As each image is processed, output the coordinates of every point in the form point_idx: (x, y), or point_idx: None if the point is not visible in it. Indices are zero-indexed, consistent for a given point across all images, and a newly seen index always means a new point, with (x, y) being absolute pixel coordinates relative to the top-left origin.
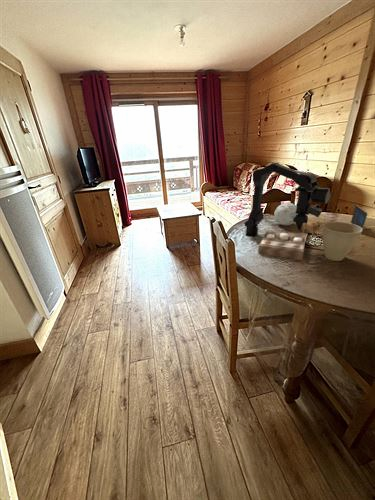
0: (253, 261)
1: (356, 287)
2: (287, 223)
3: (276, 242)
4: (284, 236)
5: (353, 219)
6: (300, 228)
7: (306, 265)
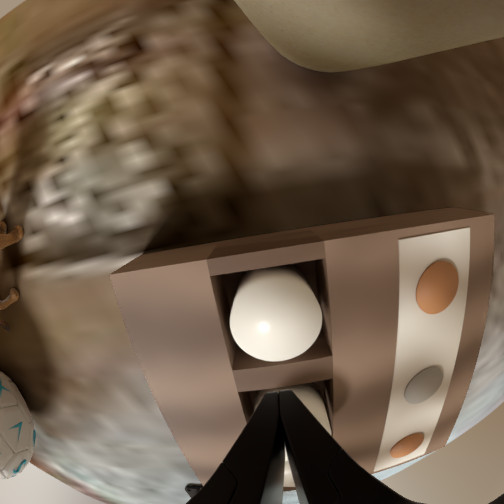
0: (490, 387)
1: None
2: (14, 395)
3: (399, 418)
4: (329, 428)
5: None
6: (307, 409)
7: (489, 175)
